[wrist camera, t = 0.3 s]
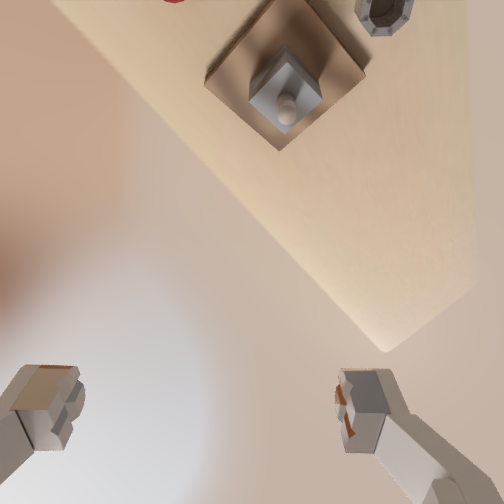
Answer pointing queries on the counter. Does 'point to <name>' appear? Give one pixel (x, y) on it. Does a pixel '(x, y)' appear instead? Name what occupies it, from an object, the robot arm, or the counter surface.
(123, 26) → the counter surface
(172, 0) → the red rounded piece
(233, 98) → the post stand
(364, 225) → the counter surface
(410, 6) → the collar
